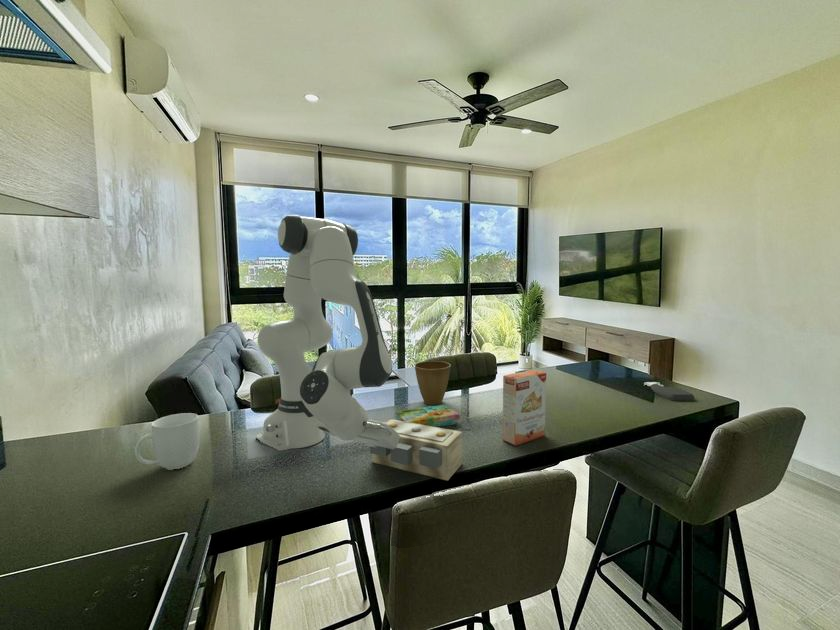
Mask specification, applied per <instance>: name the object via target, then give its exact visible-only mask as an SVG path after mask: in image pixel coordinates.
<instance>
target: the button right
mask: <svg viewBox="0 0 840 630" xmlns="http://www.w3.org/2000/svg"><path fill="white" fill-rule="evenodd" d="M419 464H420V465H423V466H427V467H431V468H436V469H438V468H439V467H440V466H441V465H442V449H438V448H433V447H429V446H423V447H421V448H420V449H419Z"/></svg>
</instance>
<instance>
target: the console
mask: <svg viewBox="0 0 840 630" xmlns="http://www.w3.org/2000/svg"><path fill="white" fill-rule="evenodd" d="M384 423H385V424H387V425H389V426H390V427H392V428H393V429H394V430H395V431H396V432H397V433H398V434H399V435H400V438H399V441H398V443H400V444H405V445H409V446H412V458H413V461H412V462H411V463H410V464H409V465H404V464H400V463H396V462H392V461H391V453H390V454H389V455H388V456H386V457H385V456H380V455H376V454H372V453H371V463H373V464H374V463H375V464H379V465H383V466H387V467H390V468H394V469H397V470H398V469H399V470H403V471H407V472H411V473H415V474H419V475H422V476H428V477H432V478H435V479H439V480H442V481H443V480H444V481H447V482H448V481H449V480H450V479H451V477H452V476H453V475H454V474H455V473H456V472H457V470H458V469H459V468H460V467H461V466H462V465H463V432H462V431H460V430H453V429H448V428H443V427H439V426H438V427H432V426H426V425H421V424H415V423H410V422H404V421H401V420H399V419H398V420H397V419H391V418H390V419H388V420H387V421H385V422H384ZM423 446H429V447H433V448H438V449H442V465H441V466H440V467H439V468H438V469H436V468H431V467H427V466H423V465H420V464H419V449H420V448H421V447H423Z"/></svg>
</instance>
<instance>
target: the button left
mask: <svg viewBox="0 0 840 630" xmlns="http://www.w3.org/2000/svg"><path fill="white" fill-rule="evenodd" d="M369 447H370V449H369V450H370V451H369V452H370V454H371V455H372V454H376V455H380V456H385V457H386V456H388V455H389V454H390V453H391V449H389V448H385V447H380V446H377V447H376V448H375V447H371V446H369Z"/></svg>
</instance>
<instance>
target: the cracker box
mask: <svg viewBox="0 0 840 630" xmlns="http://www.w3.org/2000/svg"><path fill="white" fill-rule="evenodd" d="M502 386H503V387H502V388H503V389H502V439H501V440H502V441H505V442H507V443H509V444H511V445H513V446H515V447H517V446H519V445H521V444H525V443H527V442H530V441H533V440H535V439H536V440H537V439H539V438H542V437H544V436H545V434H546V404H547V403H546V400H547V399H546V398H547V373H546V372H544V371H540V370H535V369H531V370H530V369H529V370H525V371H519V372H514V373H509V374H504V375H503V377H502Z"/></svg>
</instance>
